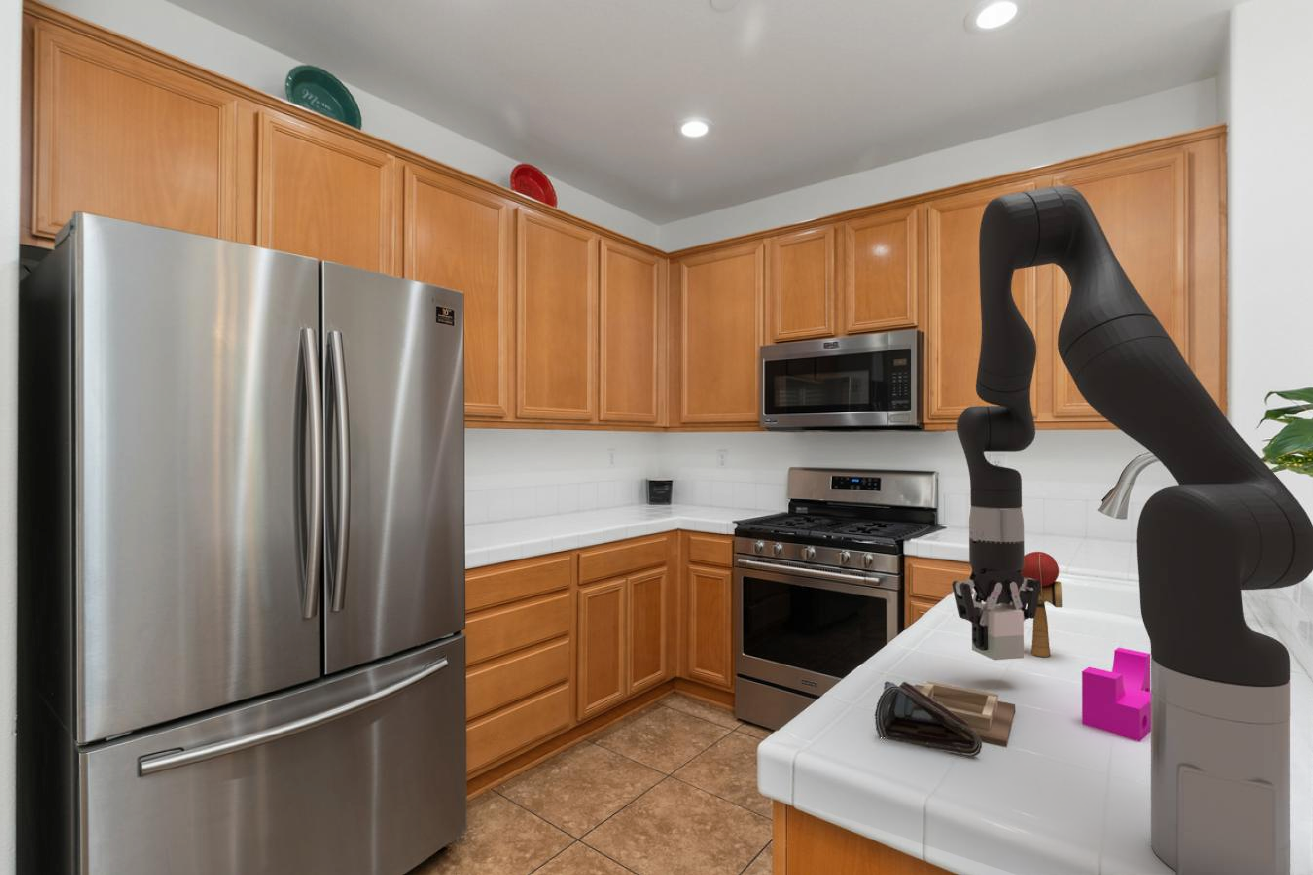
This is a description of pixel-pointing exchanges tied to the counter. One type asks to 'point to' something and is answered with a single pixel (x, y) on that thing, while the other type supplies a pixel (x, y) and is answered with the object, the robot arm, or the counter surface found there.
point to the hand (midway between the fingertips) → (997, 647)
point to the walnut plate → (976, 710)
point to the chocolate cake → (923, 722)
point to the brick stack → (1004, 634)
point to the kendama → (1043, 597)
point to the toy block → (1119, 695)
